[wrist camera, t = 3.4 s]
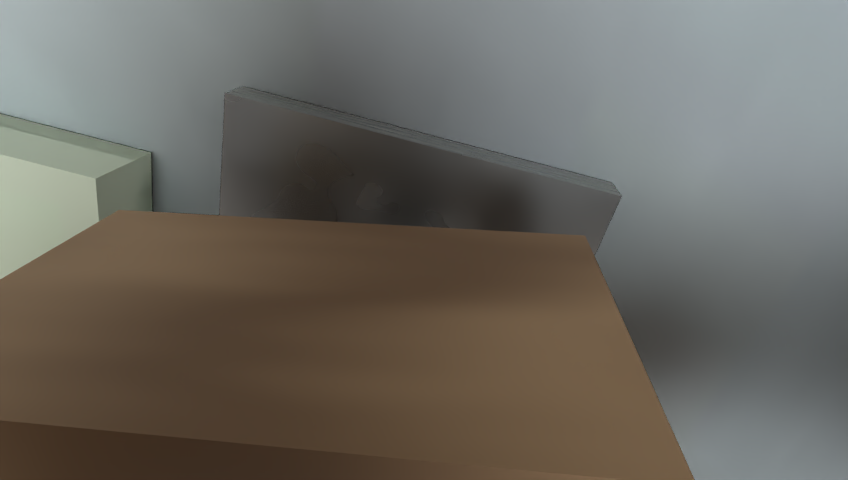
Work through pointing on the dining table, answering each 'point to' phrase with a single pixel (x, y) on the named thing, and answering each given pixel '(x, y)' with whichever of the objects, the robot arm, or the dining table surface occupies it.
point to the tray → (61, 187)
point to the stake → (391, 175)
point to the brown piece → (321, 356)
